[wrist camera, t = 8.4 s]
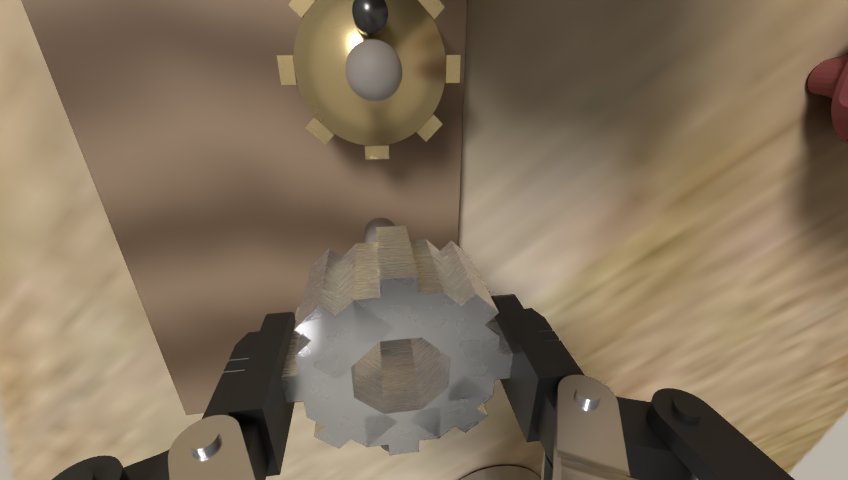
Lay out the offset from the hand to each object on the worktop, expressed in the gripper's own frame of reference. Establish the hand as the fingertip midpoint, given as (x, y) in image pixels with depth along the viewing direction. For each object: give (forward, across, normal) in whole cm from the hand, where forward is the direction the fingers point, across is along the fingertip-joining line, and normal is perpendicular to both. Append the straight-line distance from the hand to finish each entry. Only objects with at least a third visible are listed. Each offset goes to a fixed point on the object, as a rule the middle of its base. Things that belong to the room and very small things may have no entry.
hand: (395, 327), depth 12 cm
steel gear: (+1, 0, 0) cm, 1 cm away
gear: (+8, 0, -7) cm, 11 cm away
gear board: (+9, +4, 0) cm, 10 cm away
